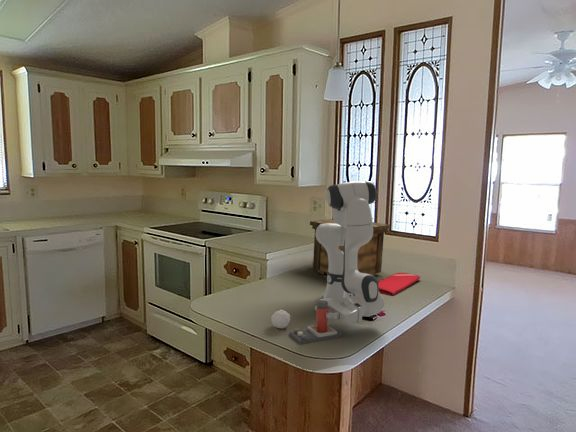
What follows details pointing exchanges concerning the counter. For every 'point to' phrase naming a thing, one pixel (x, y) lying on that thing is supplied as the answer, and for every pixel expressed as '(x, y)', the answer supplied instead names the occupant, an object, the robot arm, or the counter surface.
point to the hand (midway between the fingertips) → (321, 312)
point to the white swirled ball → (280, 319)
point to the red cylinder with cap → (322, 316)
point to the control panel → (313, 334)
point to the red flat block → (396, 283)
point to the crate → (367, 254)
